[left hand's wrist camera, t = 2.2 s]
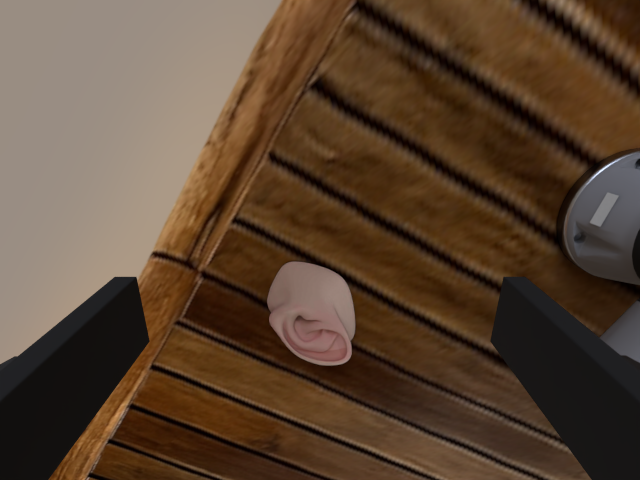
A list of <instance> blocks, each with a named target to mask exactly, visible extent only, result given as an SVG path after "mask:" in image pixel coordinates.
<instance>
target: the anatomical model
mask: <svg viewBox="0 0 640 480" xmlns="http://www.w3.org/2000/svg"><path fill="white" fill-rule="evenodd" d="M267 304H268V307H269V310H270V311H271V314H270V317H269V322H270V324H271V326H272V328H273V329H274V330H275V331H276V333H277V334H278V335H279V337H280V338H281V340H282V341H283V342H284V344H285V345H286V346H287V347H288V348H289V349H290V350H291V351H292V352H293V353H294V354H295V355H297V356H298V357H300V358H302V359H304V360H306V361H308V362H311V363H315V364H319V365H339V364H343V363H345V362H347V361H348V360H349V359H350V357H351V354H352V346H351V342H350V341H351V340H352V338H353V336H354V333H355V314H354V307H353V301H352V297H351V293H350V290H349V287H348V285H347V283H346V282H345V280H344V279H343V278H342V277H341V276H339V275H338V274H337V273H335V272H333V271H331V270H329V269H327V268H324V267H321V266H318V265H314V264H310V263H305V262H289V263H286V264H285V265H283V266H282V268H281V269H280V270H279V272H278V273H277V275H276V277H275V279H274V281H273V283H272V285H271V288H270V291H269V295H268V299H267Z"/></svg>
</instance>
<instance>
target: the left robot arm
mask: <svg viewBox="0 0 640 480" xmlns="http://www.w3.org/2000/svg"><path fill="white" fill-rule="evenodd" d="M557 235H558V240H559V244H560V246H561V249H562V251H563V252H564V254H565V255H566V257H567V258H568V259H569V260H570V261H571V262H572V263H574V264H575V265H577V266H578V267H580V268H582V269H583V270H585V271H586V272H588V273H590V274H592V275H595V276H598V277H602V278H606V279H611V280H616V281H621V282H626V283H632V284H637V285H640V148H637V149H630V150H626V151H622V152H619V153H617V154H614V155H612V156H610V157H607V158H606V159H604V160H602V161H600V162H599V163H597V164H596V165H594V166H593V167H592V168H590V169H589V170H588V171H587V172H586V173H584V174H583V175H582V176H581V177H580V178H579V179H578V181H577V182H576V183H575V184H574V185H573V187H572V188H571V190H570V191H569V193H568V194H567V196H566V198H565V200H564V202H563V204H562V207H561V209H560V213H559V217H558V223H557ZM148 343H149V336H148V331H147V327H146V322H145V317H144V312H143V307H142V302H141V297H140V292H139V288H138V283H137V278H136V277H114V278H113V279H112V280H111V281H109V282H108V283H107V284H106V285H104V286H103V287H102V288H101V289H100V290H98V291H97V292H96V293H95V294H93V295H92V296H91V297H90V298H89V299H87V300H86V301H85V302H84V303H83V304H81V305H80V306H79V307H78V308H76V309H75V310H74V311H73V312H72V313H70V314H69V315H68V316H67V317H65V318H64V319H63V320H62V321H61V322H59V323H58V324H57V325H56V326H55V327H53V328H52V329H51V330H50V331H48V332H47V333H46V334H45V335H44V336H42V337H41V338H40V339H39V340H37V341H36V342H35V343H34V344H32V345H31V346H30V347H29V348H28V349H26V350H25V351H24V352H23V353H22V354H20V355H19V356H18V357H13V358H11V359H9V360H7V361H6V362H4V363H2V364H0V480H48V479H49V478H50V476H51V475H52V474H53V472H54V471H55V470H56V468H57V467H58V466H59V464H60V463H61V461H62V460H63V459H64V457H65V456H66V455H67V453H68V452H69V451H70V449H71V448H72V446H73V445H74V444H75V442H76V441H77V440H78V438H79V437H80V436H81V434H82V433H83V431H84V430H85V429H86V427H87V426H88V425H89V423H90V422H91V421H92V419H93V418H94V416H95V415H96V414H97V412H98V411H99V410H100V408H101V407H102V406H103V404H104V403H105V401H106V400H107V399H108V397H109V396H110V395H111V393H112V392H113V390H114V389H115V388H116V386H117V385H118V384H119V382H120V381H121V380H122V378H123V377H124V375H125V374H126V373H127V371H128V370H129V369H130V367H131V366H132V365H133V363H134V362H135V360H136V359H137V358H138V356H139V355H140V354H141V352H142V351H143V350H144V348H145V347H146V345H147V344H148ZM491 343H492V344H493V345H494V347H495V348H496V350H497V351H498V352H499V354H500V355H501V356H502V358H503V359H504V360H505V362H506V363H507V365H508V366H509V367H510V369H511V370H512V371H513V373H514V374H515V375H516V377H517V378H518V380H519V381H520V382H521V384H522V385H523V386H524V388H525V389H526V390H527V392H528V393H529V395H530V396H531V397H532V399H533V400H534V401H535V403H536V404H537V406H538V407H539V408H540V410H541V411H542V412H543V414H544V415H545V416H546V418H547V419H548V421H549V422H550V423H551V425H552V426H553V427H554V429H555V430H556V431H557V433H558V434H559V436H560V437H561V438H562V440H563V441H564V442H565V444H566V445H567V446H568V448H569V449H570V451H571V452H572V453H573V455H574V456H575V457H576V459H577V460H578V461H579V463H580V464H581V466H582V467H583V468H584V470H585V471H586V472H587V474H588V475H589V476H590V478H591V479H592V480H640V298H639V299H638V300H636V301H635V302H634V303H633V304H632V305H631V306H630V307H629V308H628V309H627V310H626V311H625V312H624V313H623V314H622V315H621V316H620V317H619V318H618V319H617V320H616V321H615V322H614V323H613V324H612V325H611V326H610V327H609V328H608V329H607V330H606V331H605V332H604V333H603V334H602V335H601V336H600V337H598V336H597V335H595V334H594V333H593V332H592V331H590V330H589V329H588V328H587V327H586V326H584V325H583V324H582V323H581V322H579V321H578V320H577V319H576V318H575V317H573V316H572V315H571V314H570V313H568V312H567V311H566V310H565V309H564V308H562V307H561V306H560V305H559V304H557V303H556V302H555V301H554V300H553V299H551V298H550V297H549V296H548V295H547V294H545V293H544V292H543V291H542V290H540V289H539V288H538V287H537V286H536V285H534V284H533V283H532V282H531V281H529V280H528V279H527V278H526V277H504V278H503V283H502V288H501V292H500V297H499V302H498V307H497V312H496V317H495V322H494V327H493V331H492V336H491Z"/></svg>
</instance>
